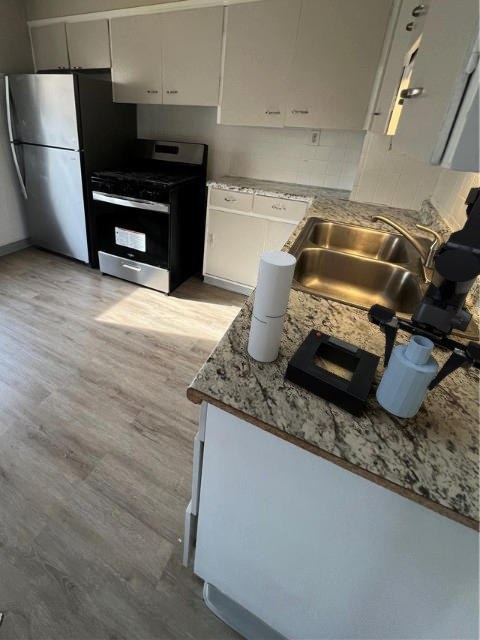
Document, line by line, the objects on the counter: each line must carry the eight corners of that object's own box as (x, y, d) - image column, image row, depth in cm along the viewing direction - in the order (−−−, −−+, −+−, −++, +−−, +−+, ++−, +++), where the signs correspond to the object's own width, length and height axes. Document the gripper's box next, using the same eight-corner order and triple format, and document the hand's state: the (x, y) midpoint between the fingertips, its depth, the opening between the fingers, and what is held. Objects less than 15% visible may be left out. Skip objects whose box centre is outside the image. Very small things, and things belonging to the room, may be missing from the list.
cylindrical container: (278, 364, 71) (297, 267, 61) (247, 359, 73) (260, 263, 62) (277, 343, 78) (294, 252, 67) (248, 339, 79) (260, 248, 68)
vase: (372, 384, 62) (395, 325, 56) (410, 393, 61) (437, 333, 54) (380, 411, 57) (406, 350, 50) (421, 422, 55) (453, 360, 49)
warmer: (309, 342, 78) (313, 326, 76) (375, 372, 70) (381, 354, 68) (284, 378, 68) (288, 360, 66) (359, 418, 59) (366, 399, 57)
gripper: (385, 265, 57) (346, 341, 55) (527, 310, 45) (485, 409, 43) (386, 287, 65) (352, 353, 63) (505, 330, 53) (470, 413, 51)
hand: (406, 378), depth 55 cm, fingers closed on vase, 7 cm apart
